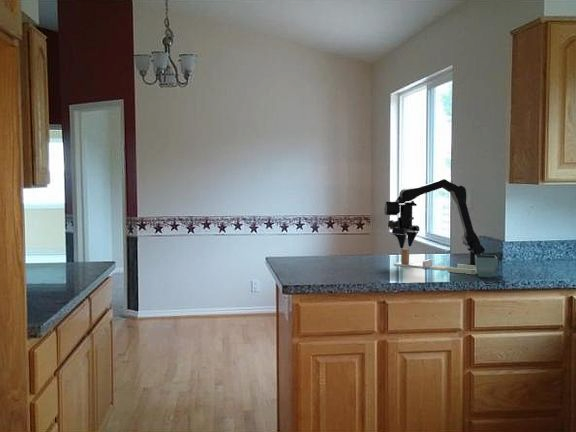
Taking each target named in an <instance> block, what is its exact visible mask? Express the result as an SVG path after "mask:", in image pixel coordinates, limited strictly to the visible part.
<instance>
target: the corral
mask: <svg viewBox="0 0 576 432" xmlns="http://www.w3.org/2000/svg"><path fill="white" fill-rule="evenodd" d="M447 272H448V273H456V274H464V273H465V274H466V275H467V274H468V275H476V274H478V272H477V270H476V265H467V264H464V263H463V264H462V263H457V266H456V267H448V269H447Z"/></svg>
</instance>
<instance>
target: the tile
mask: <svg viewBox="0 0 576 432" xmlns="http://www.w3.org/2000/svg"><path fill="white" fill-rule="evenodd" d="M448 267H450V265H440V264H439V265H438V264H435V265H434V264H433V265H432V266H431V267H429V270H435V269H436V270H438V271H446V270H448Z"/></svg>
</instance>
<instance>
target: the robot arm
mask: <svg viewBox="0 0 576 432" xmlns="http://www.w3.org/2000/svg"><path fill="white" fill-rule="evenodd" d="M440 189H443V190H445V191H447V192H449V193H450V196H451V197H452V200H453V201H454V202H455V204H456V206H457V210H458V214H459V218H460V221H461V226H462V230H463V235H461V236H460V238H461V241H462V245H464V246H465V248H467V251H468V252H469V262H467V263H466V265H475V255H483V254H484V253H485V251H486V250H485V247H483V245H482V244H481V241H480V239H479V237H478V235H477V233H476V232H475V230H474V227H473V223H472V221H471V217H470V212H469V208H468V205H467V198H468V197H467V190H466V187H465V186H463V185H459V184H455V183H453V182H451V181H448V180H447V179H445V178H441V179H438V180H436V181H432V182H430V183H427V184H424V185H420V186H417V187H409V188H403V189H402V190H400V192H399V196H398V197H397V198H396V200H395V201H389V200H385V204H384V207H383V211H384V216H398V214H400V216H399V217H398V218H397V220H393V219H392V220H391V219H390V220H388V223H387V227H388V228H389V229H390V231H391V234H393V235H394V236H395V237H396V238H397V241H398V244H399V248H400V249H404V246H405V242H406V241H407V243H408V247H412V245H413V244H414V240H415V239H416V237H417V236H418V234H419V232H420V227H419V225H415V224H414V225H413V220H414V219H415V218H414V217H413V207H417V203H415V201H414V200H415V199H416V198H418V197H419V196H421V195H425V194H428V193H431V192H433V191H437V190H440ZM475 266H476V265H475Z"/></svg>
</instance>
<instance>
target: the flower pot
mask: <svg viewBox="0 0 576 432" xmlns="http://www.w3.org/2000/svg"><path fill="white" fill-rule="evenodd" d="M498 259H499V258H498V257H497V256H496V255H492V254H490V255H489V254H482V255H475V266H476V270H477V272H478V273H477V275H478V277H479V278H489V279H491V278H492V277H494V275H495V273H496V270H497V265H498Z"/></svg>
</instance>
